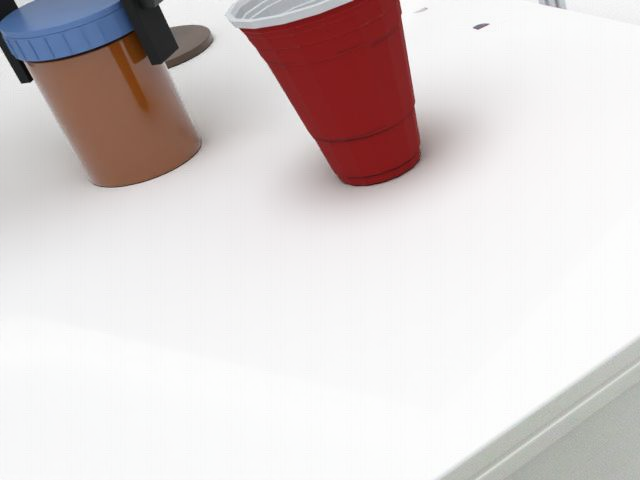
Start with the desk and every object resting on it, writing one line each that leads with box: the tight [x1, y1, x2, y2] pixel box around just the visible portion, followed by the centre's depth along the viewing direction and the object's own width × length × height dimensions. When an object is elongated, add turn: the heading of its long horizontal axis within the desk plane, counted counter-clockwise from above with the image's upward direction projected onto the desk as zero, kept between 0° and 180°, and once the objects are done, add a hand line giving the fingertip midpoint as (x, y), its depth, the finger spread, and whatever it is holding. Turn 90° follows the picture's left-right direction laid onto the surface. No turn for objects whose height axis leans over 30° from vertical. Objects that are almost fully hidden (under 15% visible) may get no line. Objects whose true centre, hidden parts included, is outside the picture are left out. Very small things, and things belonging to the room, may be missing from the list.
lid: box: [0, 0, 134, 61], centre depth 73 cm, size 9×9×2 cm
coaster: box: [165, 24, 214, 69], centre depth 97 cm, size 10×10×1 cm
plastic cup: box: [224, 0, 421, 186], centre depth 68 cm, size 11×11×12 cm
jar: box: [23, 29, 202, 188], centre depth 76 cm, size 8×8×11 cm
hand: (99, 66), depth 75 cm, fingers open, 10 cm apart
